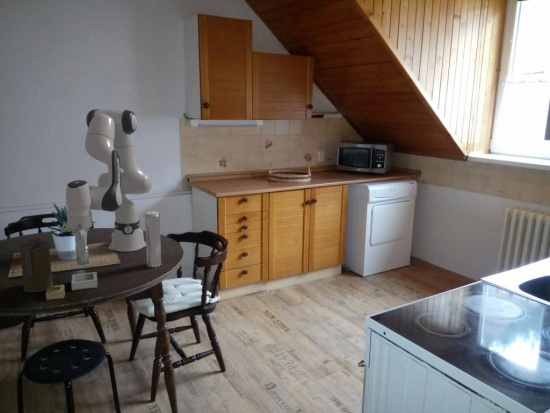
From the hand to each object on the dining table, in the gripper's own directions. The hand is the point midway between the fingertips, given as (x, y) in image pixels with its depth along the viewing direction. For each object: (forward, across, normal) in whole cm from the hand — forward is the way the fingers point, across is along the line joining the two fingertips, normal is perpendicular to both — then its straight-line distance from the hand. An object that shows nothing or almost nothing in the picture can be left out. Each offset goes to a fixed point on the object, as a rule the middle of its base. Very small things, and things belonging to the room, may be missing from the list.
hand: (82, 255), depth 169 cm
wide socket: (+12, 0, 0) cm, 12 cm away
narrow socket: (+12, -8, +10) cm, 18 cm away
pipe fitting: (+3, 0, 0) cm, 3 cm away
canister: (+13, +3, +17) cm, 21 cm away
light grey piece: (+12, +13, -29) cm, 34 cm away
